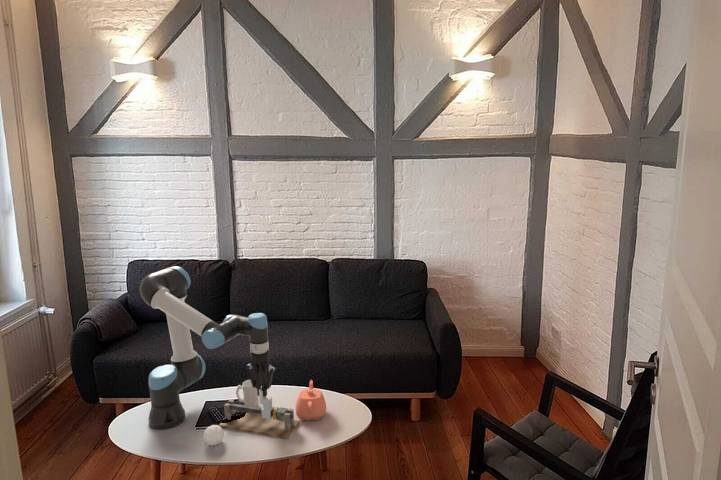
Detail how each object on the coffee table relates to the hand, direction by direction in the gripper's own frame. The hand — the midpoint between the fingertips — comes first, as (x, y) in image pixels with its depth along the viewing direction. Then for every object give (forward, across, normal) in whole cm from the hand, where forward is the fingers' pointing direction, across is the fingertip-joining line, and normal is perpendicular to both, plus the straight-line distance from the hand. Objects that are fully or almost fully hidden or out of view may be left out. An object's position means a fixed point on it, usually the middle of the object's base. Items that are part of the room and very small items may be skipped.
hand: (262, 402), depth 222 cm
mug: (+11, -14, +12) cm, 22 cm away
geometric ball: (+11, -14, -17) cm, 24 cm away
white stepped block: (+6, +2, 0) cm, 6 cm away
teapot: (+11, +16, +14) cm, 24 cm away
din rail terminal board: (+11, -2, 0) cm, 11 cm away
